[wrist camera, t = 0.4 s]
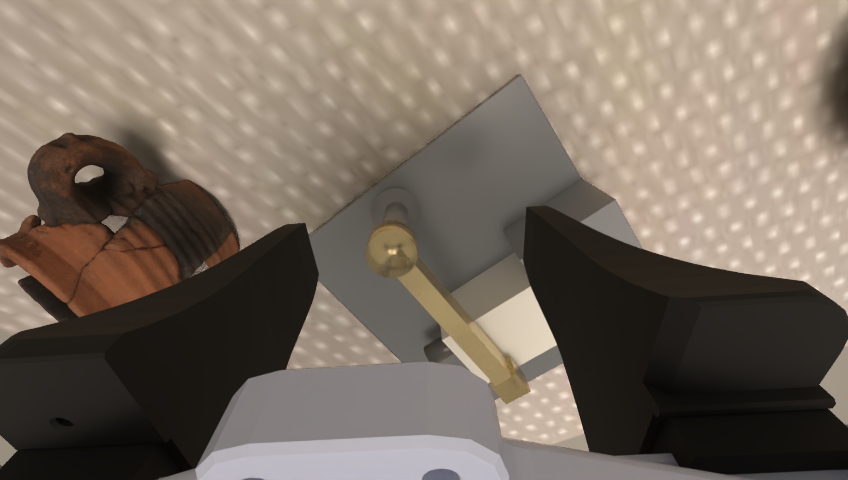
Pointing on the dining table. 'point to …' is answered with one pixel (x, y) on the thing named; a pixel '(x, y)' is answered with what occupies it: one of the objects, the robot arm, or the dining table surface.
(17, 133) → the dining table surface
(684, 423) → the robot arm
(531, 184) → the socket
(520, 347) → the plug
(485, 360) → the brass ball-knob lever
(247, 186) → the dining table surface
